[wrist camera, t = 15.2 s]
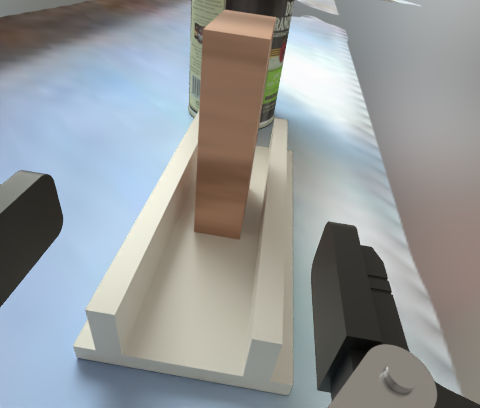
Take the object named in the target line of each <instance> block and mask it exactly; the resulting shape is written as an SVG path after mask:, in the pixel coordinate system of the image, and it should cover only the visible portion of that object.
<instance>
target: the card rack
mask: <svg viewBox="0 0 480 408" xmlns="http://www.w3.org/2000/svg"><path fill="white" fill-rule="evenodd" d="M287 128H288V120H285V119H279V118H274V123H273V129H272V134H271V139H270V145H269V147H263V146H257V145H256V148H255V154H254V161H253V167H252V173H251V180H250V186H249V192H248V197H247V202H246V208H245V213H244V219H243V224H242V229H241V235H240V240H238V239H232V238H226V237H221V236H215V235H209V234H203V233H197V232H194V219H195V197H196V174H197V152H198V130H199V111H198V113H197V114H196V116H195V118H194V120H193V121H192V123H191V125H190V127H189V128H188V130H187V132H186V134H185V136H184V137H183V139H182V141H181V143H180V144H179V146H178V148H177V150H176V151H175V153H174V155H173V157H172V158H171V160H170V162H169V164H168V165H167V167H166V169H165V171H164V172H163V174H162V176H161V178H160V179H159V181H158V183H157V185H156V186H155V188H154V190H153V192H152V193H151V195H150V197H149V199H148V200H147V202H146V204H145V206H144V207H143V209H142V211H141V213H140V214H139V216H138V218H137V220H136V222H135V223H134V225H133V227H132V229H131V230H130V232H129V234H128V236H127V237H126V239H125V241H124V243H123V244H122V246H121V248H120V250H119V251H118V253H117V255H116V257H115V258H114V260H113V262H112V264H111V265H110V267H109V269H108V271H107V272H106V274H105V276H104V278H103V279H102V281H101V283H100V285H99V286H98V288H97V290H96V292H95V293H94V295H93V297H92V299H91V301H90V302H89V304H88V306H87V308H86V309H85V311H86V315H87V319H88V320H87V321H86V323H85V325H84V327H83V329H82V331H81V332H80V334H79V336H78V338H77V340H76V341H75V343H74V345H73V348H74V351H75V354H76V357H77V358H81V359H87V360H93V361H98V362H104V363H109V364H115V365H120V366H126V367H132V368H137V369H143V370H148V371H154V372H159V373H165V374H171V375H176V376H182V377H187V378H193V379H199V380H204V381H210V382H215V383H221V384H226V385H232V386H238V387H243V388H249V389H254V390H260V391H265V392H271V393H277V394H282V395H288V396H289V394H290V391H291V389H292V387H293V174H292V151H288V150H287Z"/></svg>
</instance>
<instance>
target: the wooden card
mask: <svg viewBox="0 0 480 408" xmlns="http://www.w3.org/2000/svg"><path fill="white" fill-rule="evenodd" d="M275 22H276V17H271V16H264V15H257V14H251V13H244V12H237V11H231V10H224V11H223V12H222V13H220V14H219V15H218V16H217V17H216V18H215V19H214V20H213V21H212V22H210V23H209V24H208V25H207V26H206V27H205V28H204V29H203V40H202V62H201V85H200V107H199V130H198V152H197V174H196V197H195V219H194V232H197V233H203V234H209V235H215V236H221V237H226V238H232V239H238V240H240V235H241V229H242V224H243V219H244V213H245V208H246V202H247V197H248V192H249V186H250V180H251V173H252V167H253V161H254V154H255V148H256V142H257V135H258V129H259V123H260V117H261V110H262V104H263V98H264V91H265V85H266V79H267V72H268V66H269V60H270V53H271V47H272V41H273V34H274V28H275Z"/></svg>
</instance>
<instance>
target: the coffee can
mask: <svg viewBox="0 0 480 408" xmlns="http://www.w3.org/2000/svg"><path fill="white" fill-rule="evenodd" d="M293 5H294V0H191V47H190V82H189V85H190V86H189V106H188V110H189V113H190V114H191V115H192V116H193V117H194V118H195V116H196V114H197V113H198V111H199V107H200V85H201V62H202V40H203V29H204V28H205V27H206V26H207V25H208V24H209V23H210V22H212V21H213V20H214V19H215V18H216V17H217V16H218V15H219V14H220V13H222V12H223V11H224V10H231V11H237V12H244V13H251V14H257V15H264V16H271V17H276V22H275V28H274V34H273V41H272V47H271V53H270V60H269V66H268V72H267V79H266V85H265V91H264V98H263V104H262V110H261V117H260V123H259V128H262V127H265V126H267V125H269V124H270V123H271V122H272V121H273V119H274V110H275V105H276V99H277V93H278V88H279V82H280V77H281V71H282V66H283V60H284V54H285V49H286V44H287V38H288V33H289V27H290V22H291V16H292V10H293Z"/></svg>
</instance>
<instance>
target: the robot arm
mask: <svg viewBox="0 0 480 408" xmlns="http://www.w3.org/2000/svg"><path fill="white" fill-rule="evenodd" d="M62 225H63V214H62V210H61V206H60V203H59V199H58V195H57V191H56V187H55V183H54V180H53V178H52V177H51V176H50V175H48V174H42V173H36V172H30V171H24V170H21V171H18V172H16V173H15V174H14V175H13V176H11V177H10V178H9V179H8V180H7V181H5V182H4V183H3V184H2V185H1V184H0V307H1V306H2V305H3V303H4V302H5V301H6V300H7V298H8V297H9V296H10V295H11V293H12V292H13V291H14V290H15V289H16V287H17V286H18V285H19V284H20V282H21V281H22V280H23V279H24V277H25V276H26V275H27V274H28V272H29V271H30V270H31V269H32V268H33V266H34V265H35V264H36V263H37V261H38V260H39V259H40V258H41V256H42V255H43V254H44V253H45V251H46V250H47V249H48V248H49V246H50V245H51V244H52V243H53V242H54V240H55V239H56V238H57V237H58V235H59V233H60V231H61V229H62ZM387 279H388V277H387V274H386V270H385V267H384V263H383V261H382V260H381V259H380V257H379V256H378V255H377V253H376V252H375V251H374V249H373V248H372V247H369V246H363V245H360V241H359V237H358V232H357V228H356V227H355V226H353V225H347V224H341V223H335V222H327V224H326V226H325V228H324V231H323V234H322V237H321V240H320V243H319V246H318V248H317V251H316V254H315V257H314V260H313V264H312V271H311V288H312V305H313V322H314V339H315V356H316V373H317V390H319V391H325V392H331V398H332V402H331V404H330V405H329V406H328V408H480V405H479V404H477V403H475V402H473V401H471V400H469V399H467V398H465V397H463V396H461V395H458V394H456V393H454V392H452V391H450V390H448V389H446V388H444V387H443V386H441V385H439V384H438V383H436V382H435V381H434V380H433V377H432V375H431V374H430V372H429V370H428V369H427V368H426V367H425V365H424V364H423V363H422V362H421V361H420V360H419V359H418V358H417V357H415V356H414V355H413V354H411V353H410V351H409V349H408V346H407V342H406V339H405V336H404V332H403V329H402V325H401V322H400V318H399V315H398V311H397V308H396V305H395V301H394V298H393V295H391V292H392V291H391V287H390V284H389V281H387Z"/></svg>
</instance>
